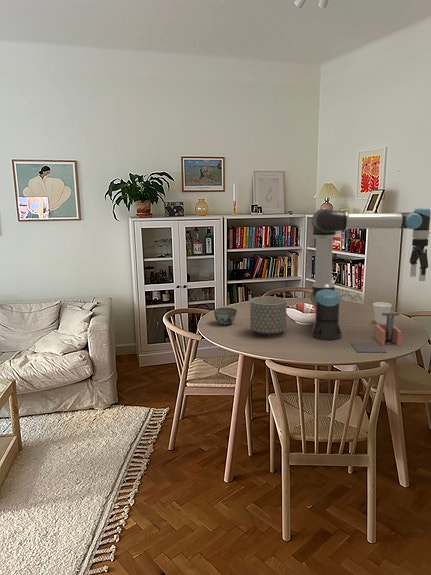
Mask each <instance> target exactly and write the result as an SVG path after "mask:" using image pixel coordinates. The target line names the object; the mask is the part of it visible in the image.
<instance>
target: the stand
mask: <svg viewBox="0 0 431 575" xmlns="http://www.w3.org/2000/svg"><path fill="white" fill-rule="evenodd" d="M382 315H383V316H387V322H386V338H385V345H394V344H395V343H394V342H393V341H392V339H393V325H395V324H394V322H395V321H394V320H395V316H397V317H398V316H400V313H399V312H390V313H382Z"/></svg>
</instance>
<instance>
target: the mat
mask: <svg viewBox="0 0 431 575" xmlns="http://www.w3.org/2000/svg"><path fill="white" fill-rule="evenodd" d="M350 345H351V346H352V348H353V350H355V352H356V353H361V354H364V353H365V354H366V353H367V354H368V353H369V354H370V353H371V354H383V353H384V354H387V350H386V349H385V348H383V346H382V345H381V344H380V343H379V342H354V341H353V342H352V341H351V342H350Z"/></svg>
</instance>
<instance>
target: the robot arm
mask: <svg viewBox="0 0 431 575" xmlns="http://www.w3.org/2000/svg"><path fill="white" fill-rule="evenodd" d="M430 223H431V209H430V208H428V207H426V208H425V207H421V208H420V207H418V208H417V207H416V208H415V209H414V210H413V212H407V211H406V212H398V211H397V212H391V213H390V212H389V213H388V212H382V213H381V212H372V213H370V212H368V213H367V212H365V213H364V212H363V213H361V212H359V213H358V212H357V213H354V212H353V213H348V212H347V211H344V210H343V211H340V210H333V209H330V208H329V209H328V208H320V209H318V210H317V211H316V212H315V213H313V216H312V218H311V224H312V235H313V237H314V238H315V267H314V268H315V271H314V272H315V278H314V281H315V282H314V283H313V284H312V286H311V287H312V288H311V289H312V291H311V295H310V301H311V303H312V305H313V307H314V308H315V319H314V320H315V321H314V324H313V326H312V328H311V336H312V337H313V338H315V339H319V340H324V341H336V340H339V339H341V338H342V335H343V334H342V333H343V332H342V329H341V324H340V322H339V321H340V320H339V318H340V301H341V299H340V298H341V297H340V293H339V292H338V291H336V290H335V284H333V283H332V280H333V279H332V278H333V276H332V275H333V273H332V272H333V239H334V237H335V236H336V232H345V231H347V230H350V229H351V230H354V229H355V230H358V229H361V230H363V229H364V230H368V229H369V230H371V229H373V230H376V229H378V230H379V229H380V230H381V229H382V230H383V229H385V230H386V229H388V230H389V229H391V230H392V229H399V230H400V229H401V230H402V229H404V230H405V229H410V230H412V241H411V246H412V250H411V255H410V258H409V263H410V272H409V273H410V277H411V278H412V277H414V278H415V277H417V267H418V266H417V265H418V261H419V266H420V267H419V277H418V281H419V282H426V274H427V269H428V268H429V260H428V249H427V248H425V247H428V246H429V237H430V236H429V235H430V234H431V232H430V226H431V224H430Z"/></svg>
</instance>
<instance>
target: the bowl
mask: <svg viewBox="0 0 431 575" xmlns="http://www.w3.org/2000/svg"><path fill="white" fill-rule="evenodd" d="M237 312H238V309H236V308H232V307H219V308H214V309H213V314H214V318H215V320H216V321H217V322H218V323H219V324H220V325H221V324H224V325H223V326H227V325H226V324H229V325H230V324H231V323H232V322H234V321H235V319H236V318H237Z"/></svg>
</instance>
